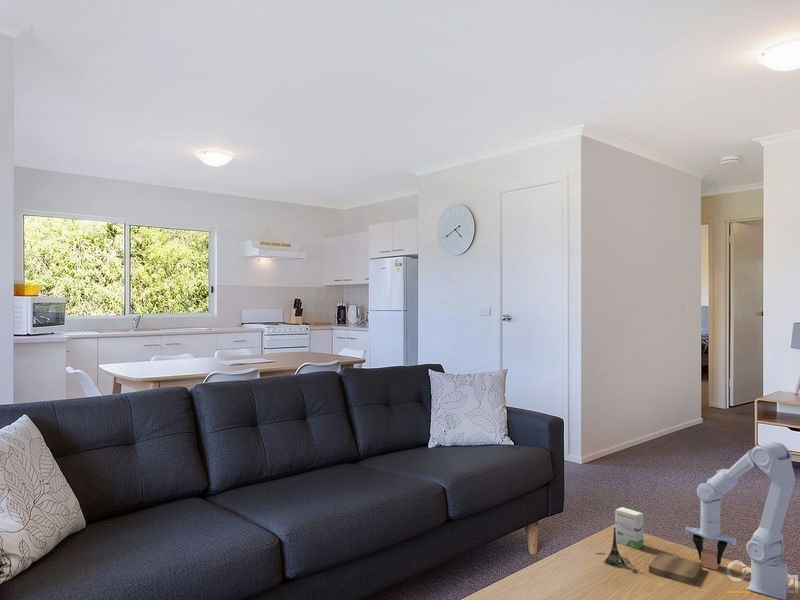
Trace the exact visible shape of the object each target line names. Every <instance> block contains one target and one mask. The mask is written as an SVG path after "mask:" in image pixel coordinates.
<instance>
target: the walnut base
mask: <svg viewBox="0 0 800 600" xmlns="http://www.w3.org/2000/svg"><path fill="white" fill-rule="evenodd" d="M702 571H703V566H702V563H701V562H699V561H695V560H691V559H687V558H682V557H680V556H677V555H671V554H668V553H663V552H660V551H659V552H658V553H657V555H656V556H655V557H654V558H653V560H652V561H651V563H650V564H649V566H648V573H650V574H652V573H653V574H652V575H657V576H660V577H663V576H664V577H663V578H667V579H671V580H674V581H678V582H681V583H684V584H689V585H692V586H694V585H695V583H696V581H697V579H698V578H699V576H700V574H701V572H702Z"/></svg>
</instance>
